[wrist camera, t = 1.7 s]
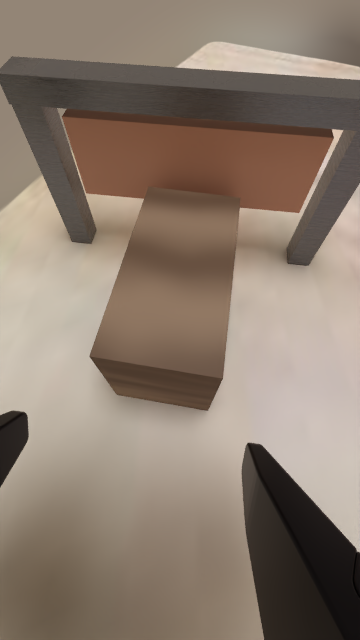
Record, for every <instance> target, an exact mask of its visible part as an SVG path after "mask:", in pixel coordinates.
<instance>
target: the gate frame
mask: <svg viewBox="0 0 360 640" xmlns="http://www.w3.org/2000/svg"><path fill="white" fill-rule="evenodd" d="M0 84H1V86H2V89H3V91H4V93H5V95H6V98H7V100H8V102H9V104H12V107H13V109H14V111H15V113H16V116H17V118H18V120H19V122H20V125H21V127H22V129H23V131H24V134H25V136H26V138H27V141H28V143H29V145H30V147H31V150H32V152H33V154H34V156H35V158H36V161H37V163H38V165H39V168H40V170H41V172H42V174H43V177H44V179H45V181H46V183H47V186H48V188H49V190H50V192H51V195H52V197H53V199H54V201H55V204H56V206H57V208H58V210H59V213H60V215H61V217H62V220H63V222H64V224H65V226H66V229H67V231H68V233H69V235H70V238H71V240H72V242H81V243H92V240H93V237H94V235H95V232H96V227H95V224H94V221H93V218H92V215H91V212H90V208H89V205H88V202H87V199H86V196H85V193H84V190H83V187H82V184H81V181H80V178H79V175H78V171H77V168H76V165H75V162H74V159H73V156H72V153H71V150H70V147H69V144H68V141H67V138H66V135H65V132H64V128H63V125H62V122H61V119H60V116H59V113H58V110H57V108H65V109H78V110H91V111H104V112H117V113H130V114H143V115H156V116H169V117H182V118H195V119H208V120H221V121H234V122H247V123H260V124H273V125H286V126H299V127H312V128H325V129H338V130H343V133H342V135H341V137H340V139H339V141H338V143H337V145H336V147H335V149H334V151H333V153H332V155H331V157H330V160H329V162H328V164H327V166H326V168H325V170H324V172H323V174H322V176H321V178H320V180H319V182H318V185H317V187H316V189H315V191H314V193H313V195H312V197H311V199H310V201H309V203H308V205H307V207H306V209H305V212H304V214H303V216H302V218H301V220H300V222H299V224H298V226H297V228H296V230H295V232H294V234H293V236H292V239H291V241H290V243H289V245H288V247H287V258H288V263H289V264H298V265H309V264H310V262H311V260H312V259H313V257H314V256H315V254H316V252H317V251H318V249H319V248H320V246H321V244H322V243H323V241H324V240H325V238H326V236H327V235H328V233H329V232H330V230H331V228H332V227H333V225H334V224H335V222H336V220H337V219H338V217H339V216H340V214H341V212H342V211H343V209H344V207H345V206H346V204H347V203H348V201H349V199H350V198H351V196H352V195H353V193H354V191H355V190H356V188H357V187H358V185H359V183H360V80H351V79H336V78H321V77H306V76H292V75H277V74H262V73H247V72H233V71H218V70H203V69H189V68H174V67H159V66H144V65H130V64H115V63H100V62H85V61H71V60H56V59H41V58H27V57H11V58H10V59H9V60H8V61H7V62H6V63H5V64H4V65H3V66H2V67H1V68H0Z"/></svg>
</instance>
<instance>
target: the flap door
mask: <svg viewBox="0 0 360 640" xmlns="http://www.w3.org/2000/svg"><path fill="white" fill-rule="evenodd" d="M62 118H63V121H64V124H65V128H66V131H67V134H68V137H69V140H70V143H71V147H72V150H73V153H74V156H75V159H76V162H77V166H78V169H79V172H80V175H81V178H82V181H83V184H84V188H85V191H86V193H89V194H100V195H110V196H121V197H132V198H143V199H144V198H145V195H146V192H147V189H148V187H156V188H164V189H173V190H181V191H189V192H198V193H206V194H215V195H223V196H231V197H240V198H241V199H240V207H241V208H252V209H262V210H273V211H284V212H295V213H299V212H300V210H301V208H302V206H303V203H304V201H305V199H306V197H307V195H308V193H309V190H310V188H311V186H312V184H313V182H314V180H315V177H316V175H317V173H318V171H319V169H320V167H321V165H322V162H323V160H324V158H325V156H326V154H327V152H328V149H329V147H330V145H331V143H332V141H333V139H334V137H333V133H332V129H325V128H312V127H299V126H286V125H273V124H260V123H247V122H234V121H221V120H208V119H195V118H182V117H169V116H156V115H143V114H130V113H117V112H104V111H91V110H78V109H67V110H66V111H65V113H64V114H63V116H62Z"/></svg>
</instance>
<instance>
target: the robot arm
mask: <svg viewBox="0 0 360 640" xmlns="http://www.w3.org/2000/svg"><path fill="white" fill-rule="evenodd" d="M28 435H29V433H28V417H27V414H26V413H25V412H20V411H10V412H7V413H5V414H2V415H0V487H1V485H2V484H3V482H4V480H5V479H6V477H7V475H8V474H9V472H10V470H11V468H12V467H13V465H14V463H15V462H16V460H17V458H18V457H19V455H20V453H21V451H22V450H23V448H24V446H25V445H26V443H27V440H28ZM242 486H243V501H244V516H245V528H246V536H247V542H248V548H249V554H250V560H251V565H252V571H253V577H254V583H255V589H256V594H257V600H258V606H259V612H260V618H261V623H262V629H263V635H264V640H360V552H357V550H356V548H355V547H354V546H353V545H352V543H351V542H350V541H349V540H348V539H347V538H346V537H345V536H344V535H343V534H342V532H341V531H340V530H339V529H338V528H337V527H336V526H335V525H334V524H333V523H332V521H331V520H330V519H329V518H328V517H327V516H326V515H325V514H324V513H323V512H322V511H321V509H320V508H319V507H318V506H317V505H316V504H315V503H314V502H313V501H312V500H311V498H310V497H309V496H308V495H307V494H306V493H305V492H304V491H303V490H302V489H301V487H300V486H299V485H298V484H297V483H296V482H295V481H294V480H293V479H292V478H291V476H290V475H289V474H288V473H287V472H286V471H285V470H284V469H283V468H282V467H281V465H280V464H279V463H278V462H277V461H276V460H275V459H274V458H273V457H272V456H271V455H270V453H269V452H268V451H267V450H266V449H265V448H264V447H263V446H262V445H261V444H255V443H247V445H246V448H245V453H244V458H243V463H242ZM356 552H357V553H356Z"/></svg>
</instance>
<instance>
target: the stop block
mask: <svg viewBox="0 0 360 640" xmlns="http://www.w3.org/2000/svg"><path fill="white" fill-rule="evenodd" d="M240 199H241V198H240V197H231V196H223V195H215V194H206V193H198V192H189V191H181V190H173V189H164V188H156V187H148V189H147V192H146V195H145V198H144V201H143V204H142V207H141V210H140V212H139V215H138V218H137V221H136V224H135V227H134V230H133V233H132V235H131V238H130V241H129V244H128V247H127V250H126V253H125V256H124V258H123V261H122V264H121V267H120V270H119V273H118V276H117V279H116V281H115V284H114V287H113V290H112V293H111V296H110V299H109V302H108V304H107V307H106V310H105V313H104V316H103V319H102V322H101V325H100V327H99V330H98V333H97V336H96V339H95V342H94V345H93V348H92V350H91V353H90V358H91V359H92V361H93V362H94V363H95V365H96V366H97V368H98V369H99V370H100V372H101V373H102V374H103V376H104V377H105V379H106V380H107V381H108V383H109V384H110V386H111V387H112V388H113V390H114V391H115V392H116V394H117V395H122V396H127V397H133V398H139V399H144V400H150V401H156V402H162V403H167V404H173V405H179V406H184V407H190V408H196V409H201V410H207V411H208V409H209V407H210V405H211V403H212V401H213V398H214V396H215V394H216V392H217V390H218V388H219V386H220V383H221V381H222V379H223V371H224V361H225V351H226V341H227V330H228V320H229V310H230V300H231V290H232V280H233V270H234V260H235V249H236V239H237V229H238V219H239V209H240Z"/></svg>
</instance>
